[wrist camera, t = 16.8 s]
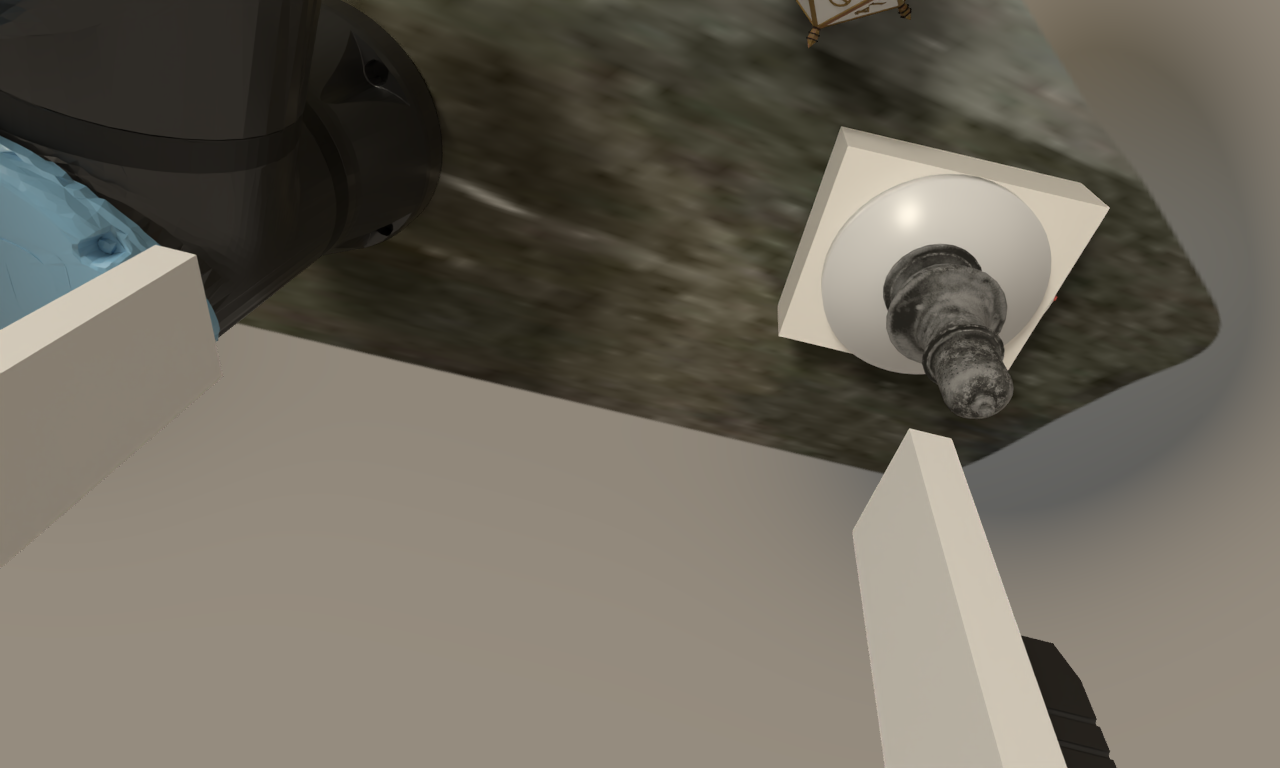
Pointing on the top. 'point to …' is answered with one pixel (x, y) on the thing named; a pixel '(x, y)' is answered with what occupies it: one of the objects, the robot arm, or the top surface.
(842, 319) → the kitchen scale
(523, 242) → the top surface
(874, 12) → the game die
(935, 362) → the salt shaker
